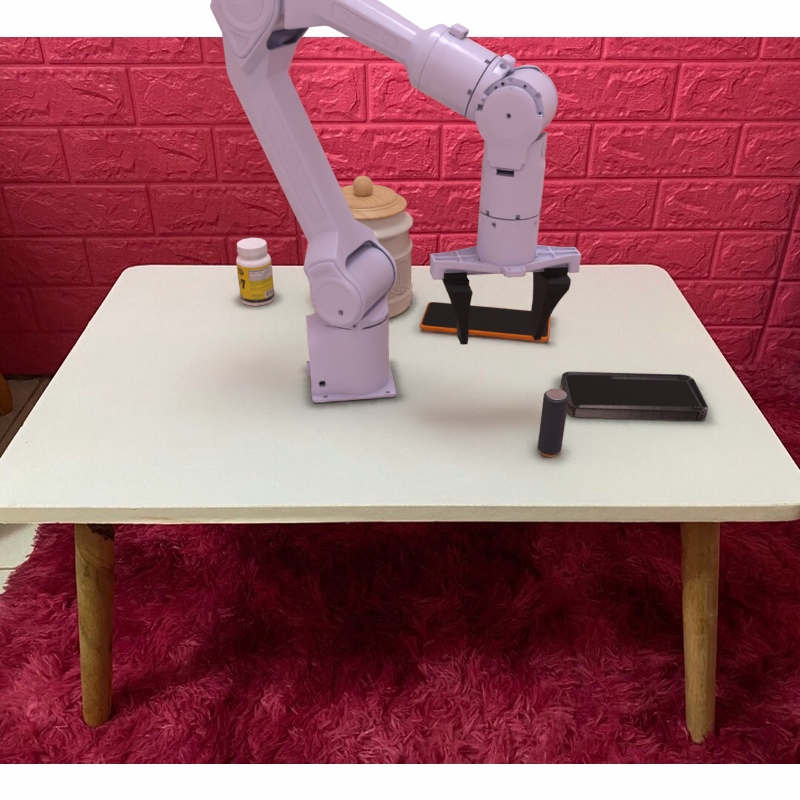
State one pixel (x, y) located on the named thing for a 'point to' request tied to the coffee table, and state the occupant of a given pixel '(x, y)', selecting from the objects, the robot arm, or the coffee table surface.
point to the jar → (386, 232)
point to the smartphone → (482, 321)
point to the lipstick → (552, 422)
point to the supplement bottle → (254, 272)
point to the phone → (633, 396)
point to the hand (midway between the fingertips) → (498, 337)
